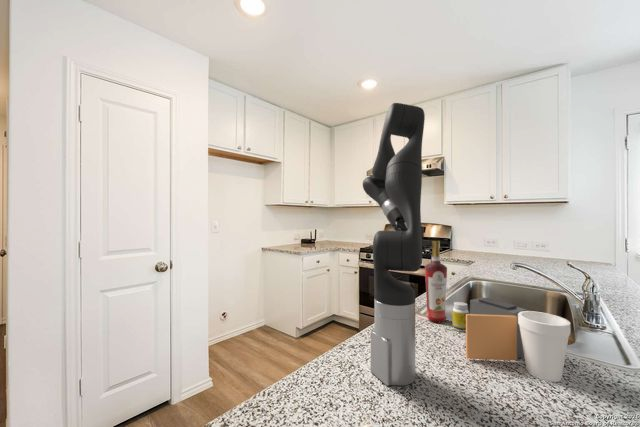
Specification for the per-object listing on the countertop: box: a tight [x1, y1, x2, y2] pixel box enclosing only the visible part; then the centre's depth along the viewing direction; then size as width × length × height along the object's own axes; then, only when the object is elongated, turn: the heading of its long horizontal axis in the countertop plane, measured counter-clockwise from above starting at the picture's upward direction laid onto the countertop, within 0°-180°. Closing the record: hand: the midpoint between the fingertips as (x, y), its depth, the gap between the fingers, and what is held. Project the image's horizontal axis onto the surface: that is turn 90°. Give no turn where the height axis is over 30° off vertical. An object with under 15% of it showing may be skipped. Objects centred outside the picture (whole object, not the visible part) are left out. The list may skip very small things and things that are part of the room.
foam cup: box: [518, 310, 571, 383], centre depth 64 cm, size 10×9×13 cm
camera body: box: [469, 297, 528, 360], centre depth 77 cm, size 6×12×13 cm, turn 25°
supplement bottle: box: [452, 301, 470, 333], centre depth 89 cm, size 5×5×8 cm
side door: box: [465, 313, 518, 362], centre depth 69 cm, size 1×12×11 cm, turn 86°
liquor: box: [424, 240, 448, 323], centre depth 97 cm, size 7×7×28 cm
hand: (421, 250), depth 87 cm, fingers closed
